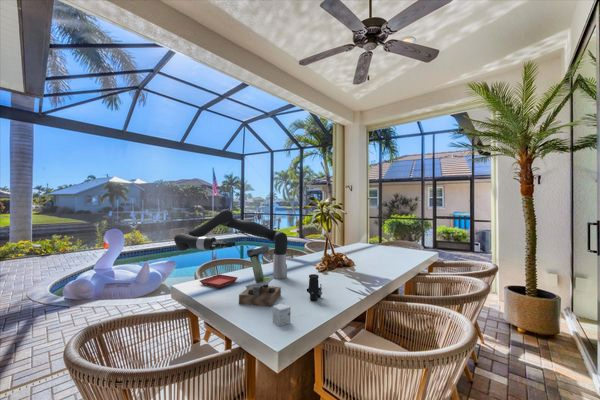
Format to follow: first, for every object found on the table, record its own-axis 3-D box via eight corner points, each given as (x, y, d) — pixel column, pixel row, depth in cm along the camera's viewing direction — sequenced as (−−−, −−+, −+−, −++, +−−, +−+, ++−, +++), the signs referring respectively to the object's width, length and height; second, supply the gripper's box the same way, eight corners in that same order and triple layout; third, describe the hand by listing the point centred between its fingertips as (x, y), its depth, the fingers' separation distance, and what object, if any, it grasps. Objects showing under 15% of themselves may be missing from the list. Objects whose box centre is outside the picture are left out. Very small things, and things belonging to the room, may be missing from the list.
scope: (322, 273, 153) (320, 277, 143) (322, 297, 152) (320, 303, 143) (308, 272, 154) (305, 276, 145) (308, 295, 154) (305, 302, 144)
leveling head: (246, 292, 142) (237, 252, 144) (256, 284, 155) (247, 248, 156) (272, 287, 139) (263, 246, 141) (279, 280, 152) (270, 243, 153)
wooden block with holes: (238, 304, 140) (239, 287, 140) (251, 292, 158) (252, 277, 158) (270, 307, 137) (271, 289, 137) (280, 295, 154) (280, 280, 154)
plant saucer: (198, 285, 173) (198, 280, 173) (218, 278, 189) (219, 273, 189) (219, 289, 164) (219, 284, 164) (238, 282, 180) (238, 277, 180)
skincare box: (279, 326, 115) (279, 309, 115) (272, 321, 120) (272, 305, 120) (290, 323, 119) (291, 306, 119) (283, 318, 124) (283, 302, 124)
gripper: (199, 238, 148) (227, 239, 144) (213, 235, 162) (238, 236, 158) (199, 251, 148) (227, 253, 144) (212, 247, 162) (238, 249, 158)
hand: (233, 244), depth 151 cm, fingers open, 3 cm apart
